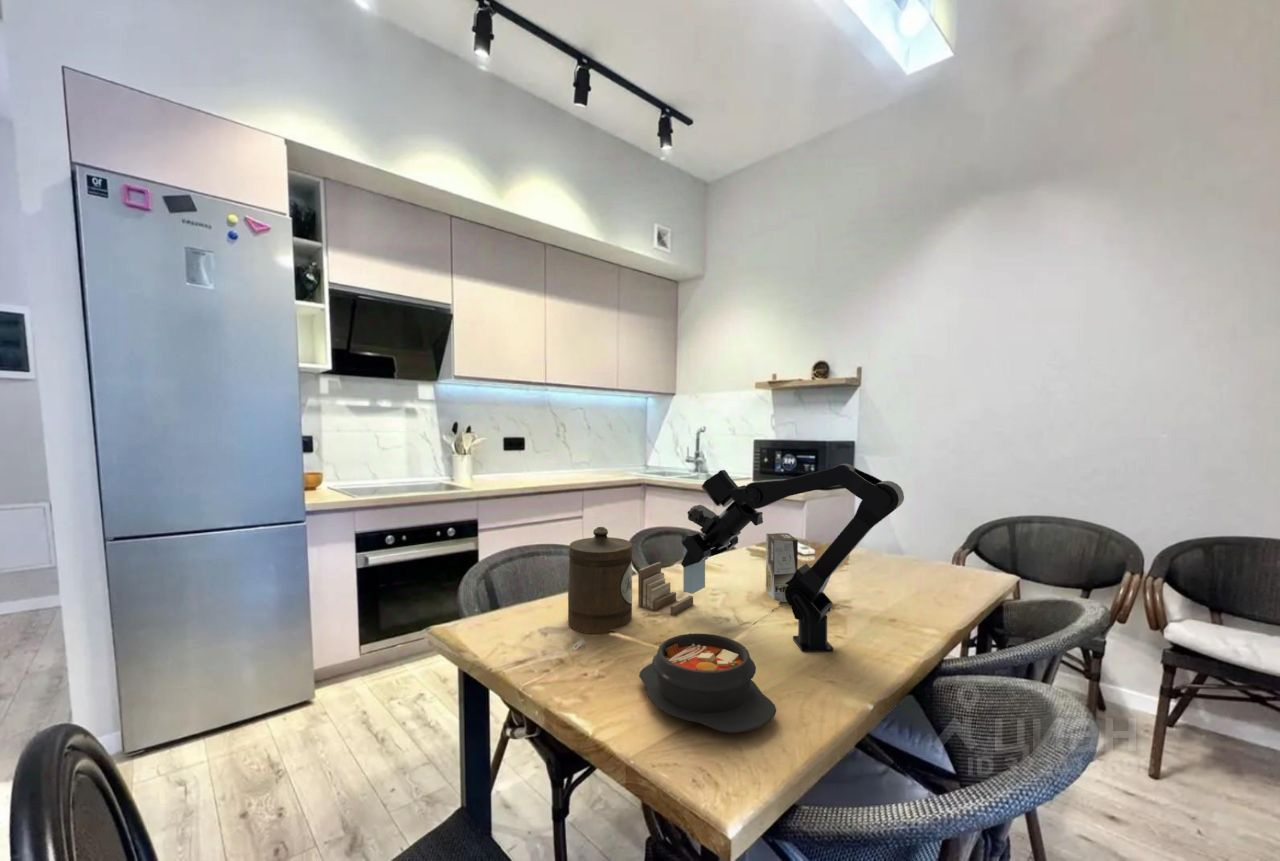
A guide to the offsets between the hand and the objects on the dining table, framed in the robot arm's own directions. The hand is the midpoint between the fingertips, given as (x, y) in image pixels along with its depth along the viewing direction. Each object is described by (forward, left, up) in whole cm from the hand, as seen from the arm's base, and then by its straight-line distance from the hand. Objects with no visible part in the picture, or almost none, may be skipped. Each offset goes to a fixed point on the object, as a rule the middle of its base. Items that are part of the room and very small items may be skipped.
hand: (689, 562), depth 122 cm
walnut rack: (+4, +5, -12) cm, 14 cm away
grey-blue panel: (-1, -1, -6) cm, 6 cm away
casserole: (-38, +2, -13) cm, 40 cm away
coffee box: (+13, -26, -13) cm, 31 cm away
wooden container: (-4, +21, -13) cm, 25 cm away
